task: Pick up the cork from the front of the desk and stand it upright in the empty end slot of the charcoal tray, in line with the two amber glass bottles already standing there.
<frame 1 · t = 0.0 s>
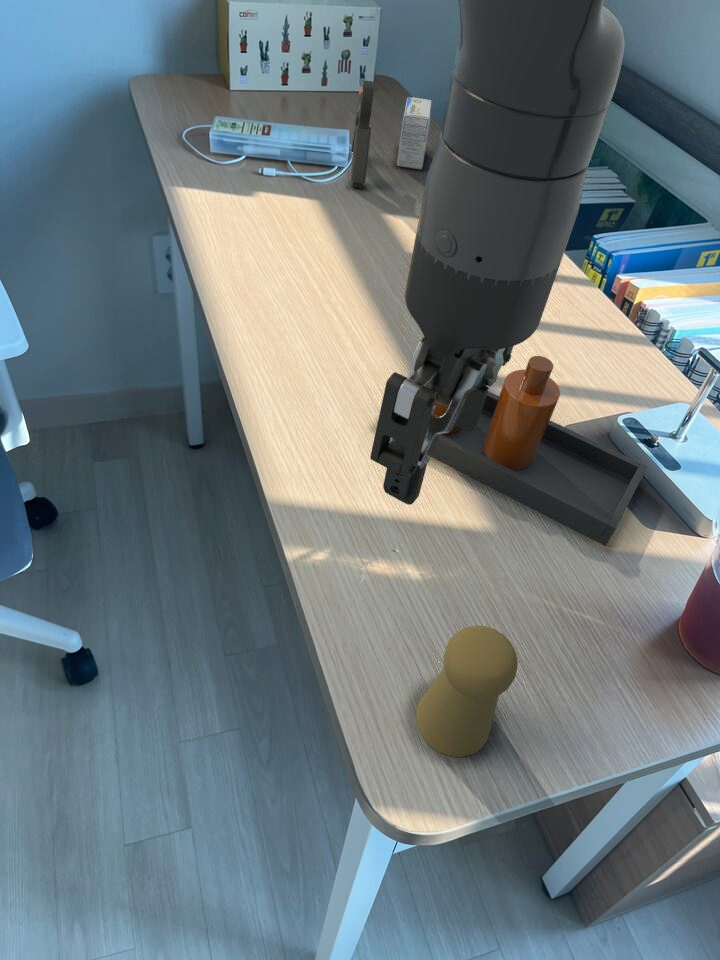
hand: (431, 457, 50), 21 cm above the table, tool pointing down, fingers open, 8 cm apart
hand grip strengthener: (356, 172, 124), on the table
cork: (452, 721, 60), on the table
tray: (506, 456, 82), on the table
amber bottle middle: (508, 451, 81), point 1 cm above the table, touching tray
medicine box: (409, 160, 130), on the table
amber bottle far: (439, 417, 84), point 1 cm above the table, touching tray
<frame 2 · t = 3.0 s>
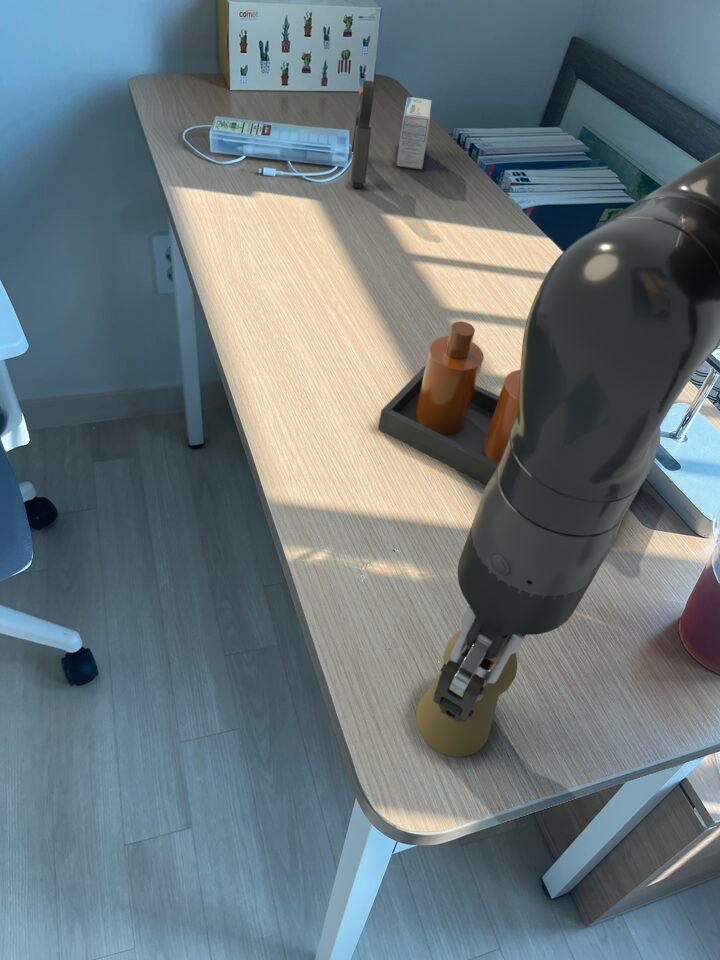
hand: (471, 680, 56), 6 cm above the table, tool pointing down, fingers closed on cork, 5 cm apart
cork: (452, 721, 60), on the table, touching gripper
everything else where it was.
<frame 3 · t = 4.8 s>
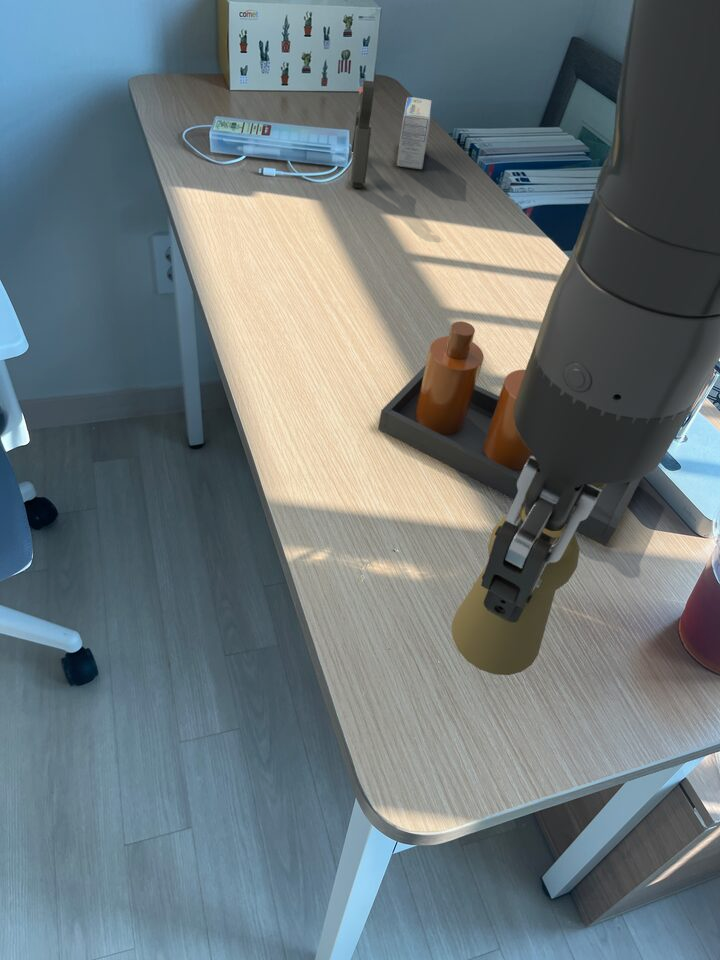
hand: (521, 578, 46), 19 cm above the table, tool pointing down, fingers closed on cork, 5 cm apart
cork: (494, 636, 51), point 13 cm above the table, touching gripper
everything else where it was.
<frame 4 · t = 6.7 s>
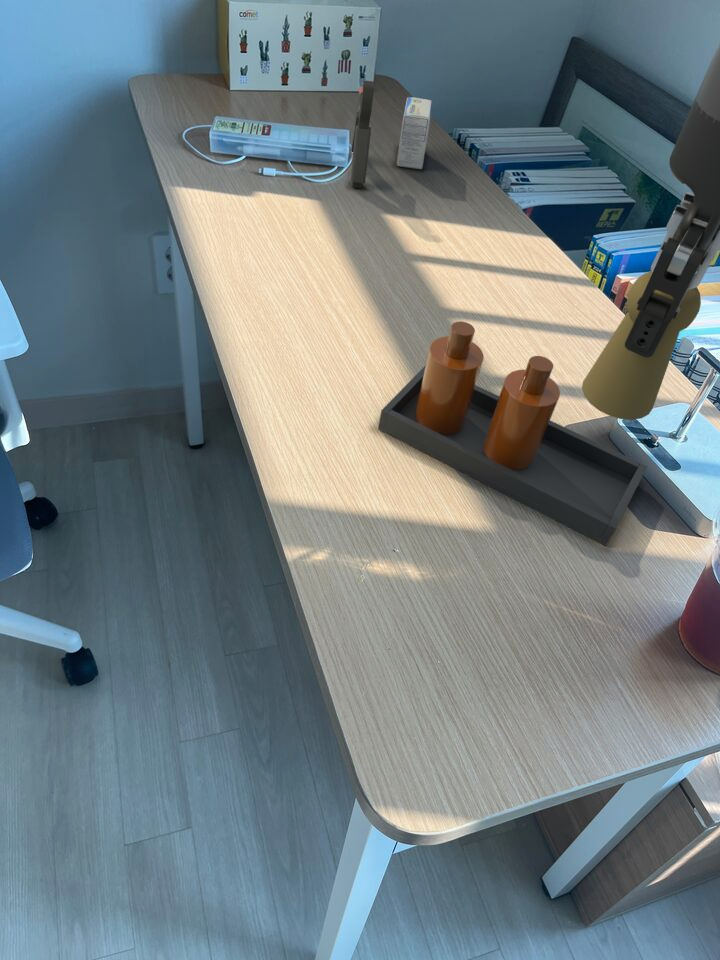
hand: (648, 332, 59), 24 cm above the table, tool pointing down, fingers closed on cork, 5 cm apart
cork: (616, 396, 63), point 17 cm above the table, touching gripper
everything else where it was.
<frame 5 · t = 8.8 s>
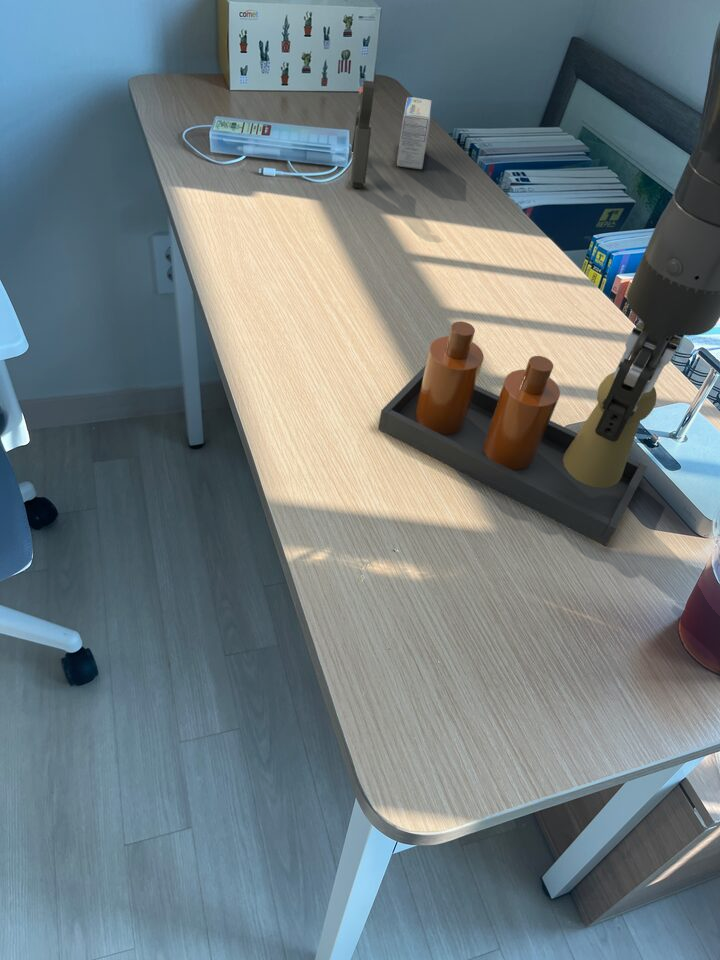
hand: (616, 418, 72), 11 cm above the table, tool pointing down, fingers closed on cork, 5 cm apart
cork: (591, 467, 77), point 4 cm above the table, touching gripper
everything else where it was.
when the fingers open (7 cm above the table, at t = 10.3 s): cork stays where it is, resting on tray.
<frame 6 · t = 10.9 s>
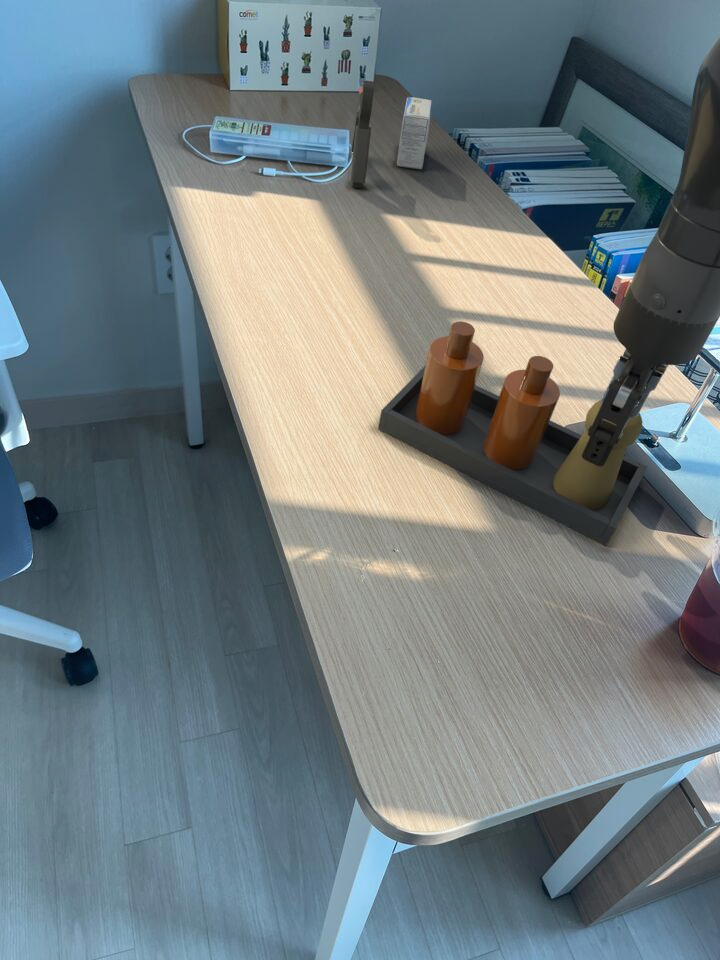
hand: (607, 436, 73), 8 cm above the table, tool pointing down, fingers open, 8 cm apart
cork: (581, 489, 79), point 1 cm above the table, touching tray
everything else where it was.
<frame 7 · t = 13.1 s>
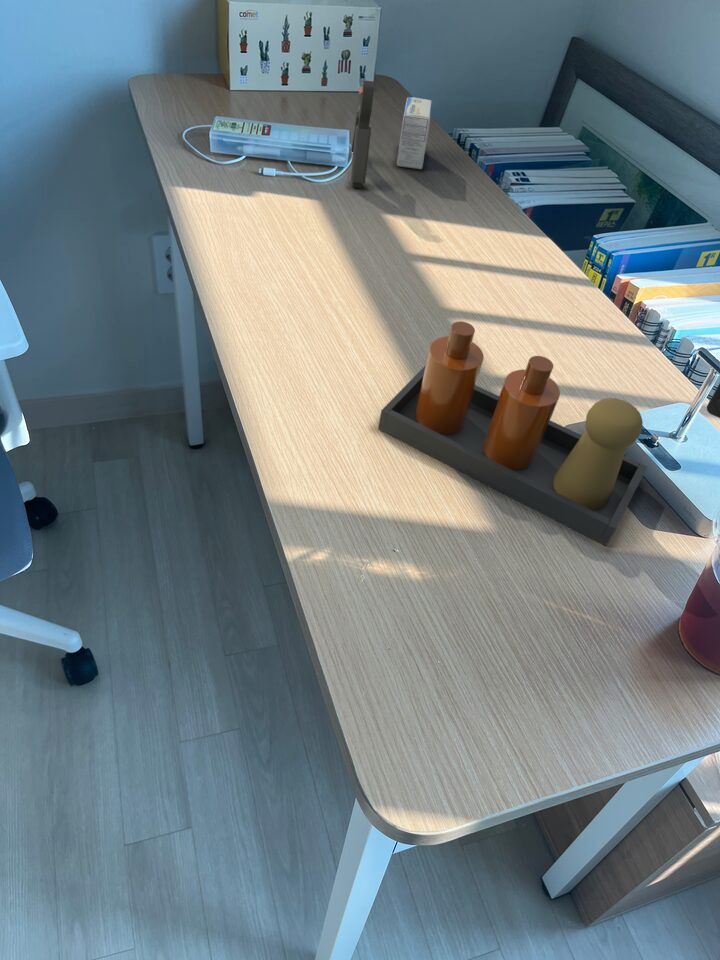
nothing on the table moved.
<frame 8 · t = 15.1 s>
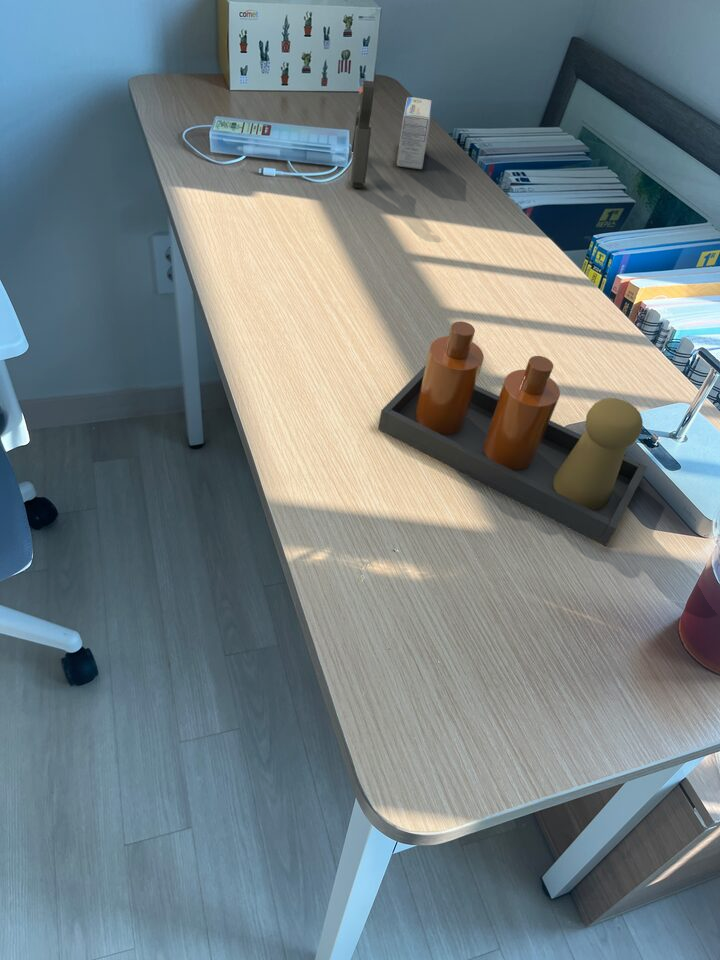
nothing on the table moved.
at the end: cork 0.1 cm from the target spot in the tray, point 0.6 cm above the tray's base; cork tilted 0°; the gripper is holding nothing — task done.
